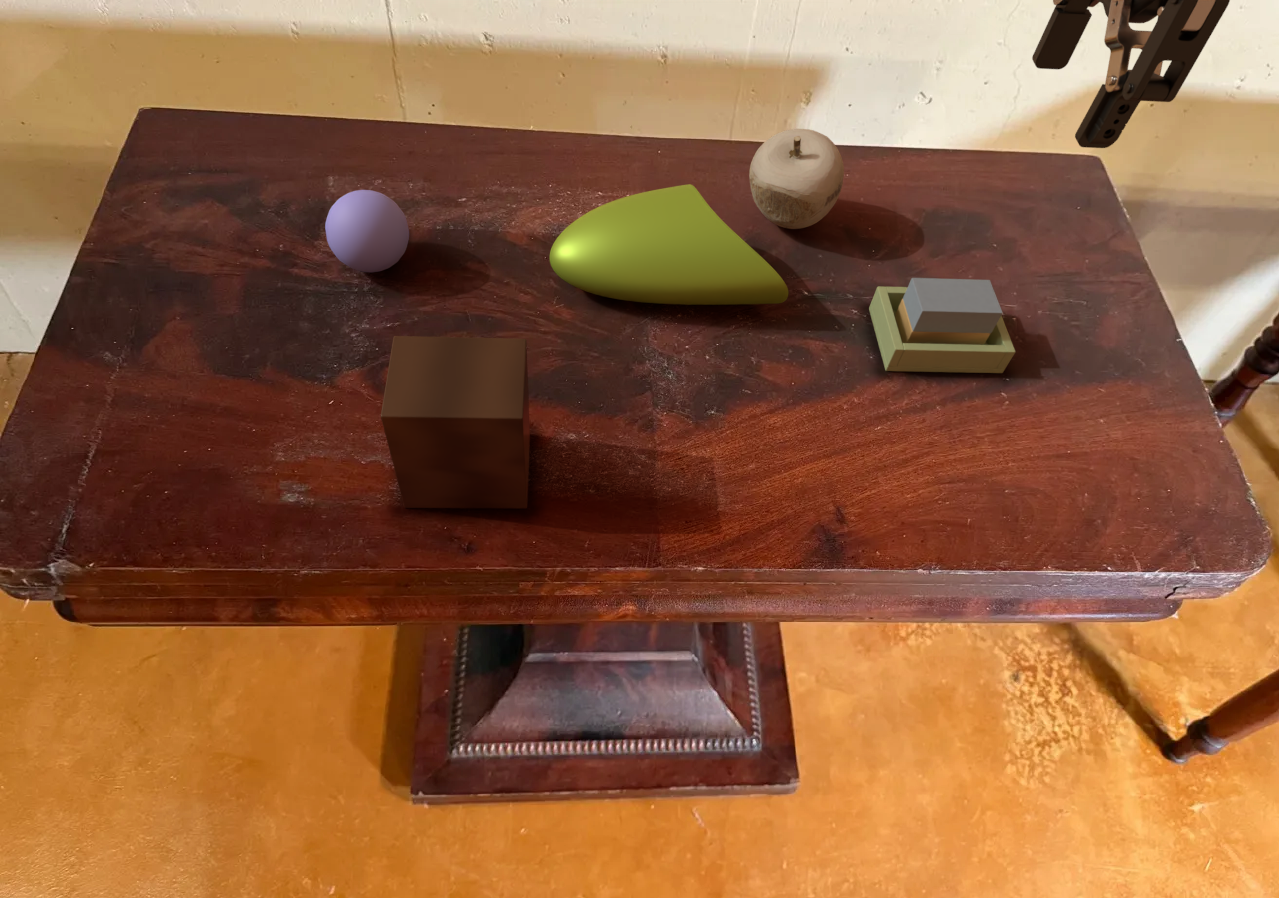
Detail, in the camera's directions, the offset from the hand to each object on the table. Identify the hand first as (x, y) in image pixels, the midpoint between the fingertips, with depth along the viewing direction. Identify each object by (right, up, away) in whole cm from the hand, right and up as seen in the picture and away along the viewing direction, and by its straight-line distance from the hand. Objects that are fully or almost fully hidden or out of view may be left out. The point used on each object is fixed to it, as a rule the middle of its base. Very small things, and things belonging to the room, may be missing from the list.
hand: (1068, 103), depth 56 cm
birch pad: (-1, -12, +23) cm, 26 cm away
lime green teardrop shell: (-25, -7, +25) cm, 36 cm away
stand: (-40, -23, +11) cm, 48 cm away
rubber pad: (0, -10, +21) cm, 23 cm away
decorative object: (-13, +1, +32) cm, 34 cm away
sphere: (-51, -5, +24) cm, 57 cm away
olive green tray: (-1, -12, +23) cm, 26 cm away
